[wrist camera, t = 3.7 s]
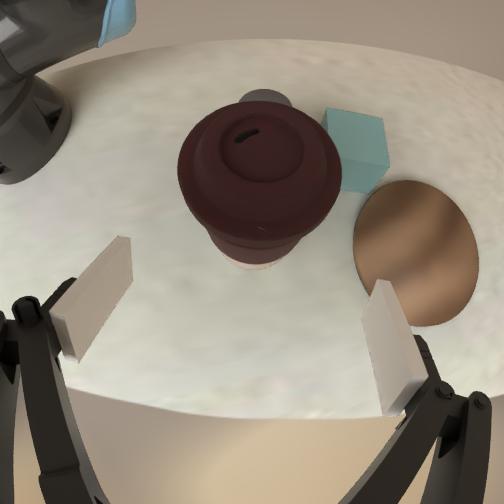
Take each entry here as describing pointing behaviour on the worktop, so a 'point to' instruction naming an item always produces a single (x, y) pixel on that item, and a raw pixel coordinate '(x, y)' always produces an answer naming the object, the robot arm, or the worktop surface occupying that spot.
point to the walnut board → (417, 251)
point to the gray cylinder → (266, 96)
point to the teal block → (358, 148)
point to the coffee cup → (259, 179)
